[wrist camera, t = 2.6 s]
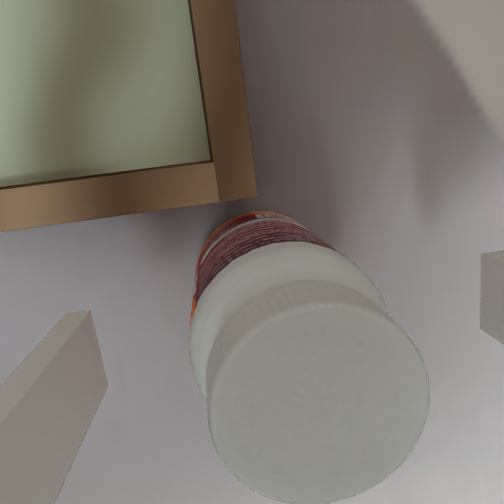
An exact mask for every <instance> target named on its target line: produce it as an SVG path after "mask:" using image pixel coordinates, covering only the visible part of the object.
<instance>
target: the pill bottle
mask: <svg viewBox="0 0 504 504" xmlns="http://www.w3.org/2000/svg"><path fill="white" fill-rule="evenodd" d="M189 349H190V359H191V365H192V370H193V372H194V375H195V378H196V381H197V383H198V385H199V387H200V389H201V391H202V393H203V394H204V396H205V397H206V399H207V405H208V423H209V429H210V433H211V437H212V440H213V443H214V445H215V448H216V450H217V452H218V454H219V456H220V458H221V459H222V461H223V462H224V464H225V465H226V467H227V468H228V469H229V470H230V471H231V473H232V474H233V475H234V476H235V477H236V478H238V479H239V480H240V481H241V482H242V483H243V484H244V485H246V486H247V487H249V488H250V489H252V490H254V491H256V492H258V493H260V494H262V495H263V496H266V497H268V498H271V499H275V500H278V501H283V502H287V503H294V504H323V503H330V502H335V501H339V500H343V499H346V498H349V497H353V496H355V495H357V494H359V493H362V492H364V491H366V490H367V489H369V488H371V487H373V486H374V485H376V484H378V483H379V482H381V481H382V480H383V479H384V478H386V477H387V476H389V475H390V474H391V473H392V472H393V471H394V470H395V469H397V468H398V467H399V466H400V465H401V464H402V462H403V461H404V460H405V459H406V457H407V456H408V455H409V453H410V452H411V450H412V449H413V447H414V446H415V444H416V442H417V440H418V438H419V437H420V435H421V432H422V430H423V427H424V424H425V421H426V417H427V412H428V407H429V380H428V375H427V371H426V368H425V365H424V362H423V359H422V357H421V355H420V353H419V351H418V350H417V348H416V346H415V345H414V343H413V342H412V340H411V339H410V337H409V336H408V335H407V334H406V333H405V332H404V331H403V329H402V328H401V327H399V326H398V325H397V324H396V323H395V322H394V321H393V320H392V319H391V318H390V317H389V316H388V313H387V309H386V306H385V304H384V301H383V299H382V297H381V295H380V293H379V291H378V290H377V288H376V287H375V285H374V284H373V282H372V281H371V280H370V279H369V277H368V276H367V275H366V274H365V273H364V272H363V271H362V270H361V269H360V268H359V267H357V265H356V264H354V263H353V262H352V261H351V260H349V259H348V258H347V257H345V256H344V255H342V254H341V253H339V252H337V251H336V250H334V249H333V248H332V247H331V246H329V245H328V244H327V243H325V242H324V241H322V240H321V239H320V238H319V237H317V236H316V235H315V234H314V233H312V232H311V231H310V230H309V229H307V228H306V227H305V226H303V225H302V224H301V223H299V222H298V221H296V220H294V219H292V218H290V217H288V216H286V215H283V214H280V213H276V212H269V211H256V212H249V213H245V214H242V215H239V216H236V217H234V218H232V219H230V220H228V221H227V222H225V223H224V224H222V225H221V226H220V227H218V228H217V229H216V230H215V231H214V232H213V233H212V234H211V235H210V237H209V238H208V240H207V241H206V242H205V244H204V246H203V248H202V250H201V252H200V255H199V258H198V262H197V266H196V273H195V282H194V289H193V301H192V312H191V324H190V341H189Z"/></svg>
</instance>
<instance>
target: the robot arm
mask: <svg viewBox="0 0 504 504" xmlns="http://www.w3.org/2000/svg"><path fill="white" fill-rule="evenodd" d="M480 329H482V330H483V331H485V332H486V333H488V334H489V335H491V336H492V337H494V338H495V339H496V340H498V341H499V342H501V343H502V344H504V251H497V252H490V253H484V254H481V302H480ZM107 387H108V383H107V379H106V375H105V370H104V366H103V362H102V358H101V353H100V349H99V345H98V341H97V336H96V332H95V328H94V324H93V319H92V315H91V311H90V310H89V311H82V312H75V313H68V314H66V315H65V316H64V317H63V318H62V319H61V320H60V321H59V322H58V323H57V325H56V326H55V327H54V328H53V329H52V330H51V331H50V332H49V333H48V334H47V336H46V337H45V338H44V339H43V340H42V341H41V342H40V343H39V344H38V345H37V347H36V348H35V349H34V350H33V351H32V352H31V353H30V354H29V355H28V356H27V358H26V359H25V360H24V361H23V362H22V363H21V364H20V365H19V366H18V367H17V368H16V370H15V371H14V372H13V373H12V374H11V375H10V376H9V377H8V378H7V379H6V381H5V382H4V383H3V384H2V385H1V386H0V504H54V503H55V500H56V498H57V496H58V494H59V492H60V490H61V487H62V485H63V483H64V481H65V479H66V476H67V474H68V472H69V470H70V468H71V466H72V463H73V461H74V459H75V457H76V455H77V452H78V450H79V448H80V446H81V444H82V442H83V439H84V437H85V435H86V433H87V431H88V428H89V426H90V424H91V422H92V420H93V417H94V415H95V413H96V411H97V409H98V407H99V404H100V402H101V400H102V398H103V396H104V393H105V391H106V389H107Z"/></svg>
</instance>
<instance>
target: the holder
mask: <svg viewBox="0 0 504 504" xmlns="http://www.w3.org/2000/svg"><path fill="white" fill-rule="evenodd" d="M254 197H258V194H257V186H256V178H255V169H254V161H253V153H252V144H251V136H250V128H249V120H248V111H247V103H246V95H245V86H244V78H243V70H242V61H241V53H240V45H239V36H238V28H237V20H236V11H235V3H234V0H0V232H3V231H11V230H18V229H25V228H33V227H40V226H47V225H55V224H62V223H70V222H77V221H84V220H92V219H99V218H106V217H114V216H121V215H129V214H136V213H143V212H151V211H158V210H165V209H173V208H180V207H188V206H195V205H202V204H210V203H217V202H224V201H232V200H239V199H247V198H254Z"/></svg>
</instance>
